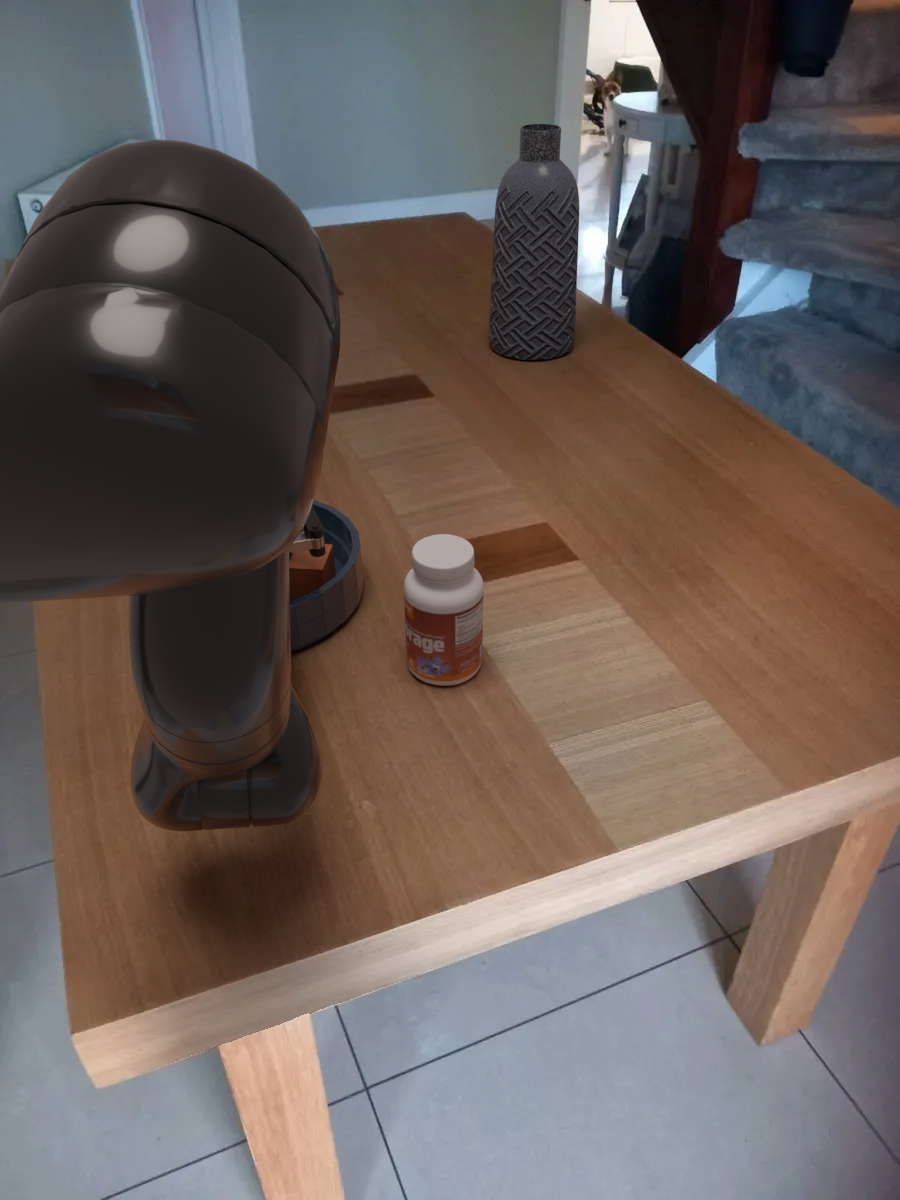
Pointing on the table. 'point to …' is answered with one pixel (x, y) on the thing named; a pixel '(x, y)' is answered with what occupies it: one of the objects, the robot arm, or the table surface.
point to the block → (310, 572)
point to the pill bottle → (443, 611)
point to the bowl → (330, 583)
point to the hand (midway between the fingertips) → (239, 488)
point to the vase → (535, 251)
